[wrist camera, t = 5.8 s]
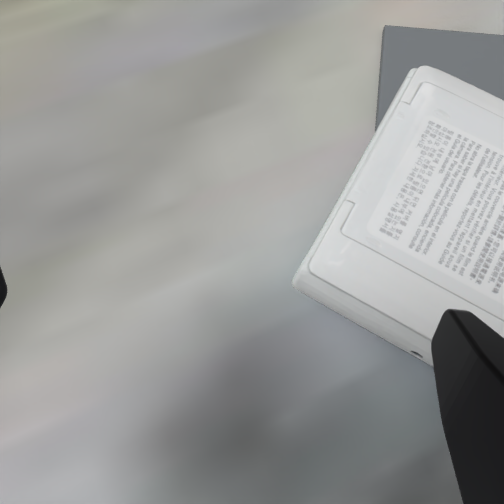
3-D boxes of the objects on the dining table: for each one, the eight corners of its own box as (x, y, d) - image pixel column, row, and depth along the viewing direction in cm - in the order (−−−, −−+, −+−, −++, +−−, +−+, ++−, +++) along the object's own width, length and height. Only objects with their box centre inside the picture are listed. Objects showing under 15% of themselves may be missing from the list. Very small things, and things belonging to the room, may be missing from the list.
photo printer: (284, 292, 18) (557, 443, 16) (292, 280, 14) (659, 481, 12) (387, 103, 19) (643, 224, 18) (422, 39, 15) (759, 192, 14)
